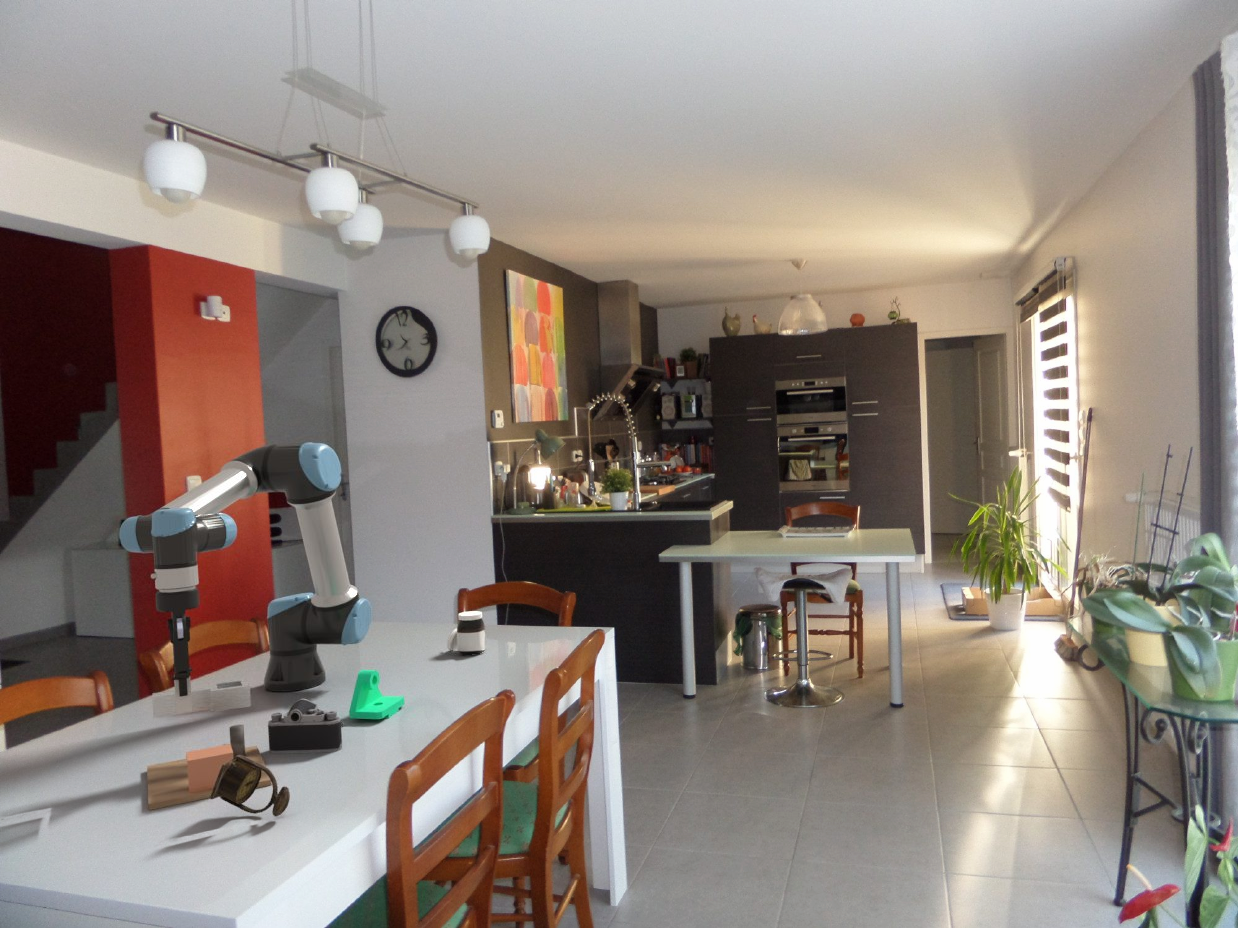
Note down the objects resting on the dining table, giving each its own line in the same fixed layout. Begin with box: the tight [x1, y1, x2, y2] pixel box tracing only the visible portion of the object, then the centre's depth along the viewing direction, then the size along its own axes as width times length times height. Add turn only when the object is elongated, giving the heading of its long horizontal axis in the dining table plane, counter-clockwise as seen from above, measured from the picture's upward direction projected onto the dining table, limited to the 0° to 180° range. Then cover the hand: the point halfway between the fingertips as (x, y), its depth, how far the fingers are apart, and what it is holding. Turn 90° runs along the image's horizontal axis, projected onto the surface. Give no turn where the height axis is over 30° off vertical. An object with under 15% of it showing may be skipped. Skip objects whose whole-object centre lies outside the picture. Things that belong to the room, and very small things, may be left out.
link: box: [151, 678, 252, 719], centre depth 178 cm, size 17×7×4 cm, turn 117°
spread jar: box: [446, 610, 487, 656], centre depth 264 cm, size 12×11×12 cm
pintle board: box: [146, 724, 272, 811], centre depth 172 cm, size 22×20×7 cm
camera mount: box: [348, 669, 405, 720], centre depth 208 cm, size 12×8×10 cm, turn 166°
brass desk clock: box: [209, 755, 291, 817], centre depth 154 cm, size 7×13×10 cm, turn 95°
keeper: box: [185, 743, 234, 793], centre depth 166 cm, size 6×8×6 cm
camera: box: [267, 698, 345, 754], centre depth 188 cm, size 16×8×10 cm, turn 86°
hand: (183, 709), depth 176 cm, fingers closed on link, 3 cm apart
